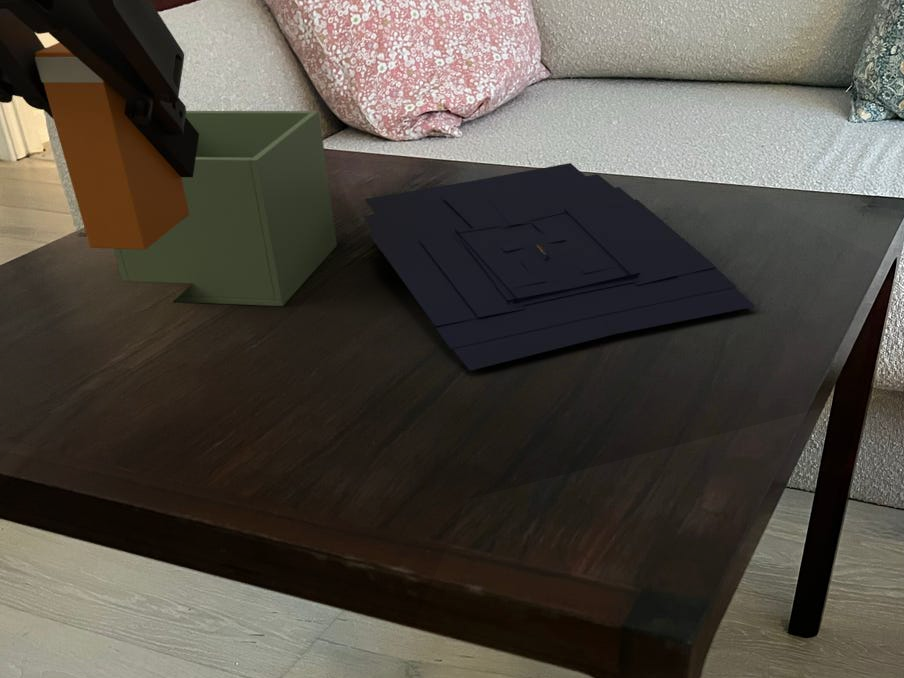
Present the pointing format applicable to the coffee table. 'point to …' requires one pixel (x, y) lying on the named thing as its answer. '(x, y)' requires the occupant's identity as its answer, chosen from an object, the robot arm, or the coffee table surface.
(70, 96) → the block
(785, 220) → the coffee table surface
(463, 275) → the folded navy cloth
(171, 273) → the bin
